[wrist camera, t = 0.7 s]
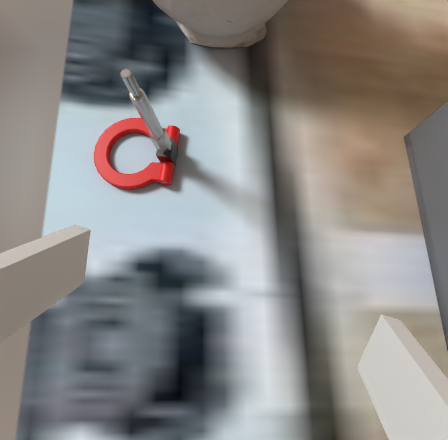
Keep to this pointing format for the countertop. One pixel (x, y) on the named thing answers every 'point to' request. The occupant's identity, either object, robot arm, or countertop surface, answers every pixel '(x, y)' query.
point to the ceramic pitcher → (222, 20)
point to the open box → (433, 196)
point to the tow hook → (146, 125)
